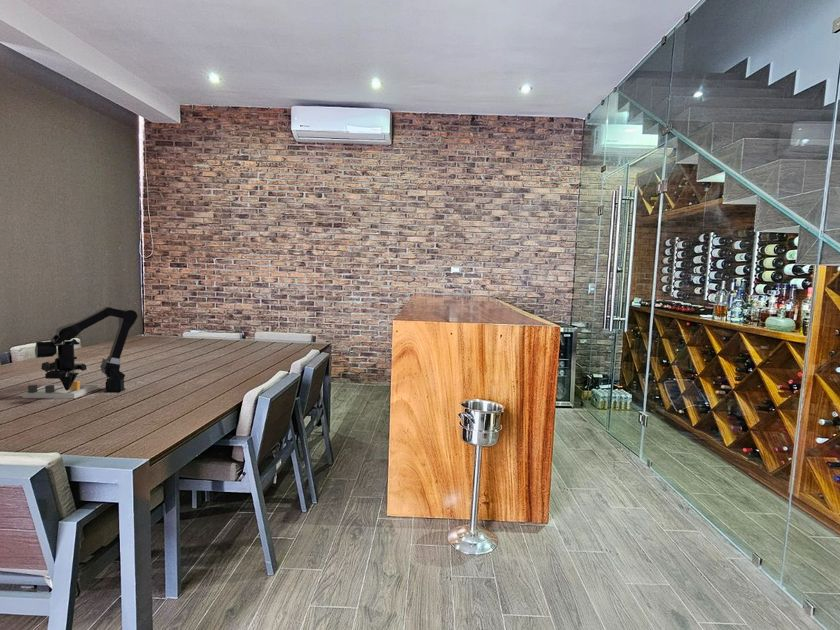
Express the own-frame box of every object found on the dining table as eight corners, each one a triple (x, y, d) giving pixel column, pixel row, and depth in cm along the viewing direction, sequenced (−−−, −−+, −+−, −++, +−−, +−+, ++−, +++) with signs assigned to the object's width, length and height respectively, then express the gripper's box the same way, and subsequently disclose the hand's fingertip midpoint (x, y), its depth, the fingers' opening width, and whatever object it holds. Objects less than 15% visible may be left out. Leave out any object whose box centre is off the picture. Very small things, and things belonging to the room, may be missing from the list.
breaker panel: (97, 388, 218) (97, 378, 218) (74, 398, 202) (74, 387, 201) (49, 388, 216) (49, 377, 216) (22, 397, 199) (22, 386, 199)
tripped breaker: (80, 388, 209) (79, 380, 208) (77, 389, 207) (77, 382, 206) (73, 388, 208) (72, 380, 208) (70, 389, 206) (69, 381, 206)
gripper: (60, 351, 209) (61, 384, 210) (30, 359, 190) (32, 395, 192) (86, 351, 210) (87, 384, 212) (59, 359, 192) (60, 395, 193)
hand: (67, 390), depth 202 cm, fingers closed
